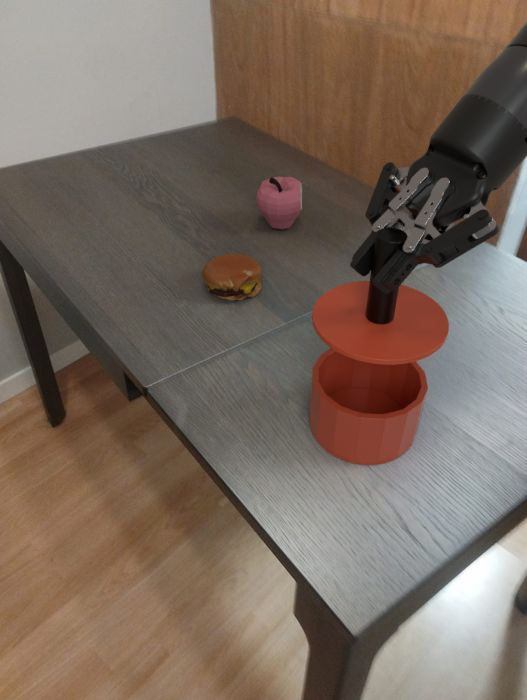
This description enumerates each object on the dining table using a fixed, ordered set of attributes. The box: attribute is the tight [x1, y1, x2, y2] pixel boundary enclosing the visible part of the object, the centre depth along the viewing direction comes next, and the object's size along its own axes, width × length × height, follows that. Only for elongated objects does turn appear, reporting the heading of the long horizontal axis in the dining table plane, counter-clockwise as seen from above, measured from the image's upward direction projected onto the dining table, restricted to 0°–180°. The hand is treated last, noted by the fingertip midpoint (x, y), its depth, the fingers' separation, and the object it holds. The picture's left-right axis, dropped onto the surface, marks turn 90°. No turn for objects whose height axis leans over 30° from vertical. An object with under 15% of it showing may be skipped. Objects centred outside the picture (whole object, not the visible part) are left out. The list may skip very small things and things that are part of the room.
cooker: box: [309, 348, 429, 466], centre depth 61 cm, size 12×12×8 cm
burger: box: [201, 253, 263, 302], centre depth 85 cm, size 10×9×5 cm
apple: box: [255, 176, 303, 230], centre depth 99 cm, size 10×9×10 cm
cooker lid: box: [311, 228, 450, 365], centre depth 51 cm, size 13×13×10 cm
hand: (368, 279), depth 49 cm, fingers closed on cooker lid, 3 cm apart
